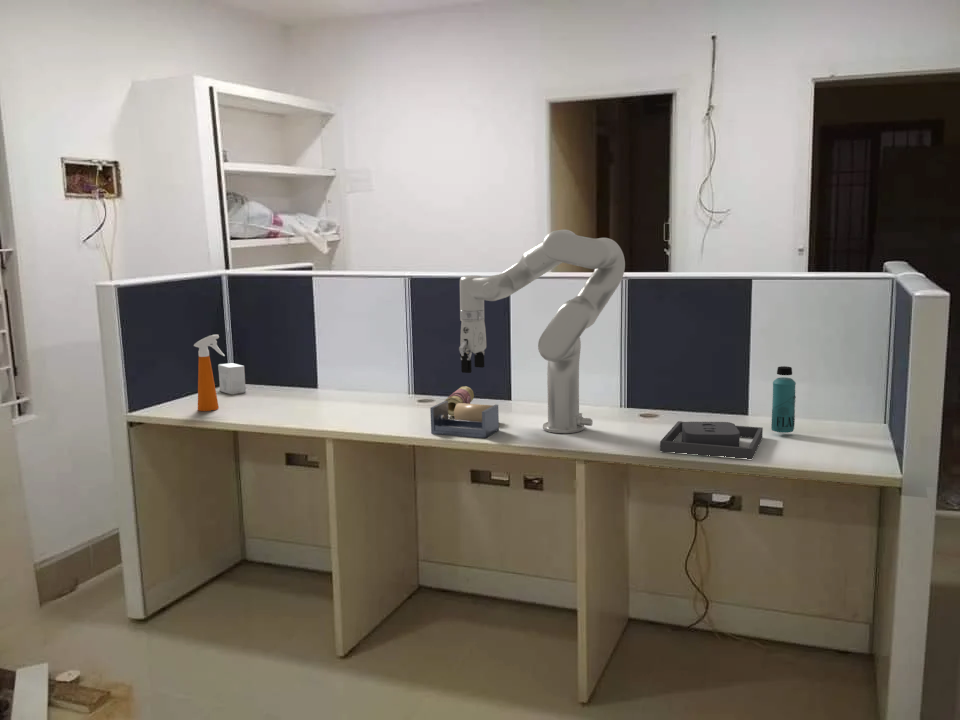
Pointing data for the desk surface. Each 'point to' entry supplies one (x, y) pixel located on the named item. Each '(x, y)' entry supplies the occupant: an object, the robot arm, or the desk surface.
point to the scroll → (459, 398)
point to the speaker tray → (712, 450)
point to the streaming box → (711, 433)
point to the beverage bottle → (783, 402)
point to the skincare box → (232, 378)
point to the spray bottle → (206, 374)
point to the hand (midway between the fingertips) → (473, 369)
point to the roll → (469, 411)
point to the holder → (464, 423)
